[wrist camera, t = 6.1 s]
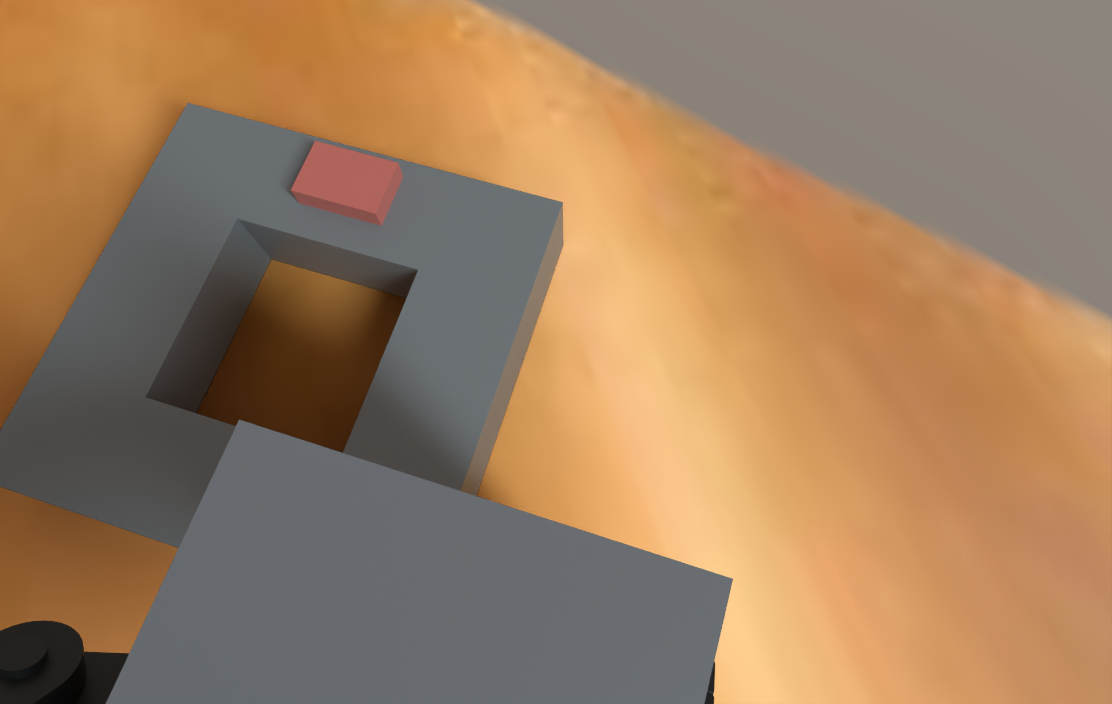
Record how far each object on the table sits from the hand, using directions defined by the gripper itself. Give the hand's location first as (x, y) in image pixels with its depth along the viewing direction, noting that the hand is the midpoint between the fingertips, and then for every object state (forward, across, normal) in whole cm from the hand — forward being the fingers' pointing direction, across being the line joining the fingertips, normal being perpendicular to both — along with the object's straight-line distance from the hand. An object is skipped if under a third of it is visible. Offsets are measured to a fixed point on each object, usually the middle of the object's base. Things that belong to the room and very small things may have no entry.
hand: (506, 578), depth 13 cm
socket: (+12, +10, +4) cm, 16 cm away
